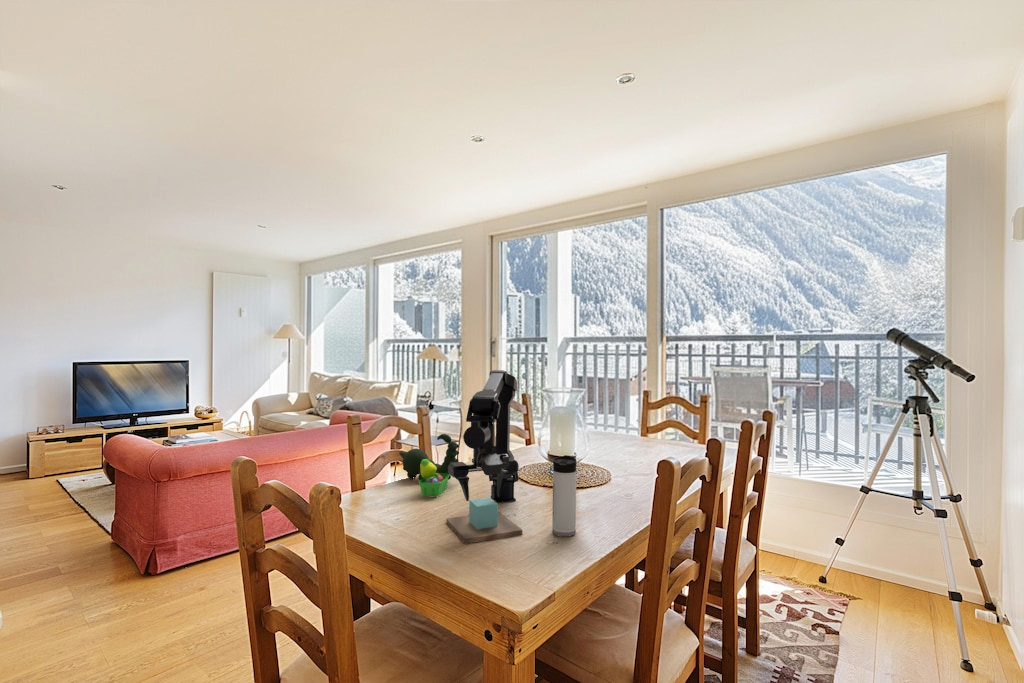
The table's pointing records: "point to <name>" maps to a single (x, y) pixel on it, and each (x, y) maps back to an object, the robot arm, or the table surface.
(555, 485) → the travel mug
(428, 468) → the fruit basket
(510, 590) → the table surface
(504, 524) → the walnut board
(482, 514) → the teal cube
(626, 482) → the table surface
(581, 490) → the table surface
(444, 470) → the toy figurine
